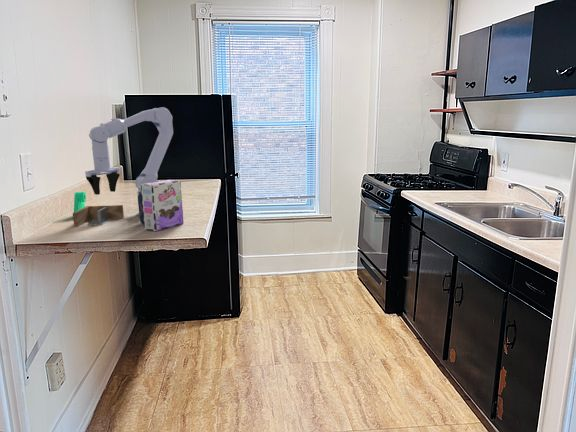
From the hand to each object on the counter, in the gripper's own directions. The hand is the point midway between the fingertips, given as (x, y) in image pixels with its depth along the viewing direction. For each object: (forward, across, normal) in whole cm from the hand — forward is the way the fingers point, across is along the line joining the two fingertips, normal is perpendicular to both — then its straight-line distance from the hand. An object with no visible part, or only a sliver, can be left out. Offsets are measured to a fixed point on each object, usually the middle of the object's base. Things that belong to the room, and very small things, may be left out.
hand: (105, 192), depth 176 cm
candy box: (+11, -2, -32) cm, 33 cm away
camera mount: (+11, +2, +13) cm, 17 cm away
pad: (+10, -6, -2) cm, 12 cm away
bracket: (+10, -6, -2) cm, 12 cm away
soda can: (+11, 0, -22) cm, 24 cm away
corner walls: (+10, -6, -2) cm, 12 cm away
